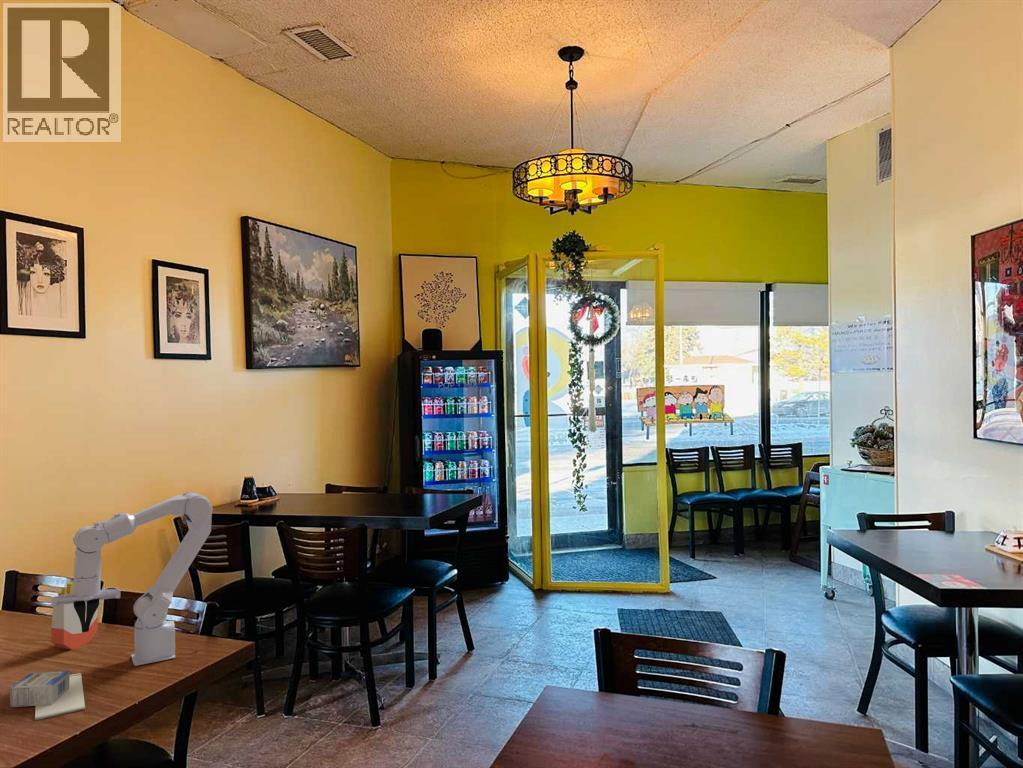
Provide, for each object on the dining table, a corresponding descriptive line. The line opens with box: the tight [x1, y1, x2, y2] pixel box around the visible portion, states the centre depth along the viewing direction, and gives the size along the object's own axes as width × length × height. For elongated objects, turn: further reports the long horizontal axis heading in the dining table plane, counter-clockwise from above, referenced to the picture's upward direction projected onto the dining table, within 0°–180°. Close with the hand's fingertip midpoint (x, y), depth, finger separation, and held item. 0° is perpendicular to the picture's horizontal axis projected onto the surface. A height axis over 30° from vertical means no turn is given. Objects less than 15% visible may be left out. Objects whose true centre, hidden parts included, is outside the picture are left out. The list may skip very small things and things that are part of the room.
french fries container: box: [50, 582, 99, 651], centre depth 186 cm, size 5×11×18 cm, turn 166°
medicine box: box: [9, 670, 70, 708], centre depth 153 cm, size 8×4×9 cm
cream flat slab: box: [34, 672, 86, 721], centre depth 155 cm, size 9×22×1 cm, turn 34°
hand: (85, 630), depth 168 cm, fingers closed
